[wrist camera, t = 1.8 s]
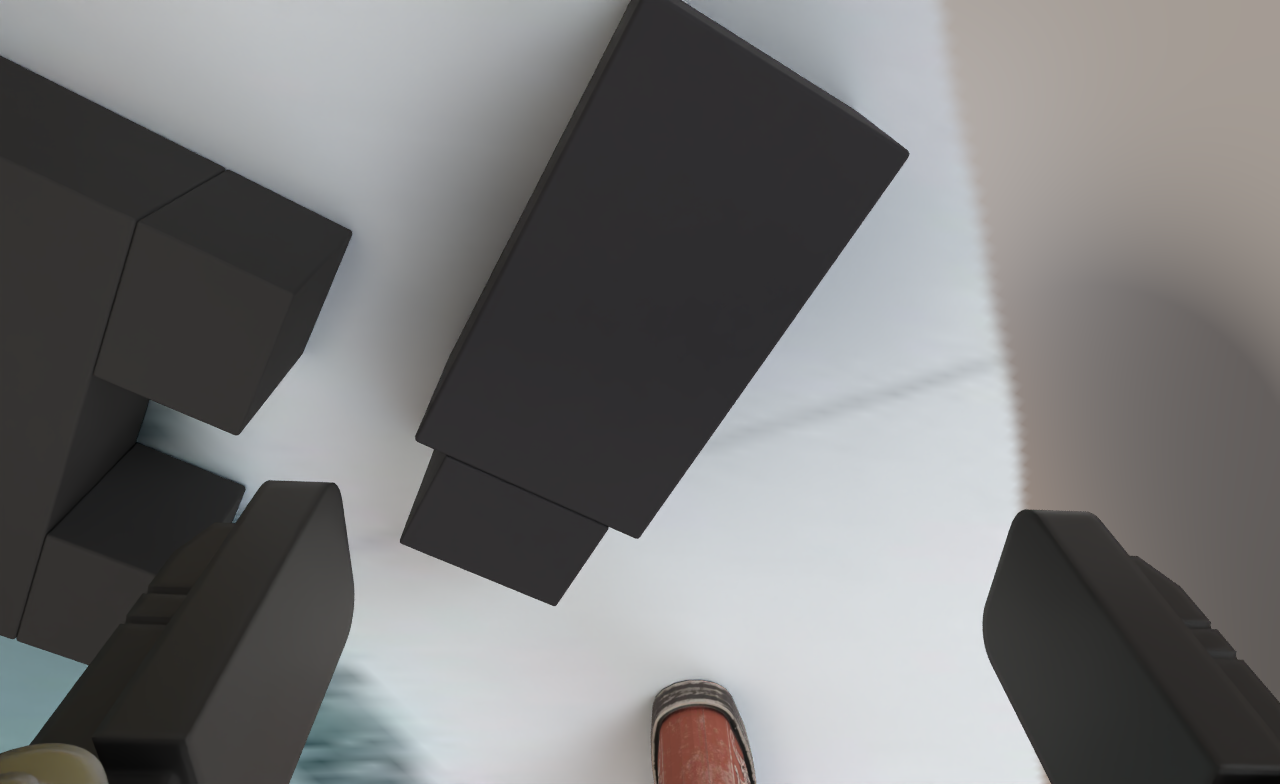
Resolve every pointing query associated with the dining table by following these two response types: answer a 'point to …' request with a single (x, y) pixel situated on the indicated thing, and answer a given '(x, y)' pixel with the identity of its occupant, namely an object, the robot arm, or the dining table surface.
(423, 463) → the dining table surface
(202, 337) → the notch pad
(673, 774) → the lighter
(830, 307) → the dining table surface
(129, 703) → the robot arm
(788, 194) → the pad
